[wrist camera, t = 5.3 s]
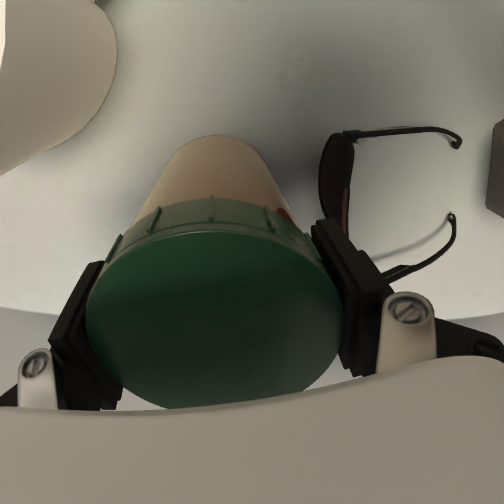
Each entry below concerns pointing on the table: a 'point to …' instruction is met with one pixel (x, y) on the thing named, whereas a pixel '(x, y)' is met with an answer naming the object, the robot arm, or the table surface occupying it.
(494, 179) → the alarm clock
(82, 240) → the table surface
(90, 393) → the robot arm
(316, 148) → the table surface
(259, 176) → the jam jar
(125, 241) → the lid
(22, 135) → the mug
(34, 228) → the table surface
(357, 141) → the sunglasses
